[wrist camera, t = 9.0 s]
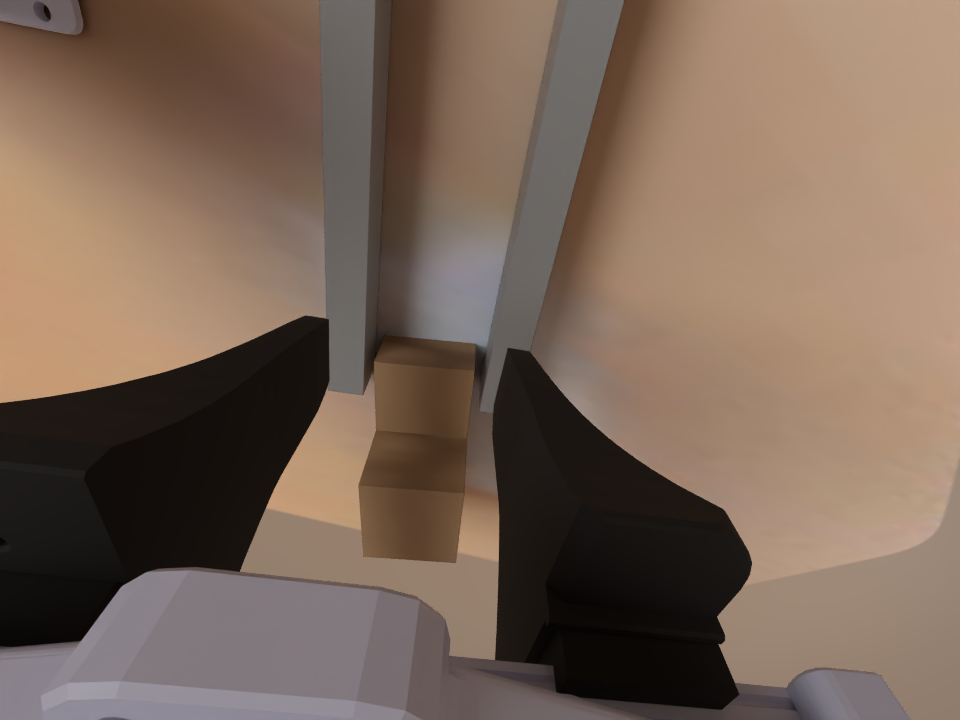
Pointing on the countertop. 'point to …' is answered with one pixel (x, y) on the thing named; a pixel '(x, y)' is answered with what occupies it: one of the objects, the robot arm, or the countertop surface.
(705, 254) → the countertop surface
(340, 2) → the channel
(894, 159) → the countertop surface
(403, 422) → the block
